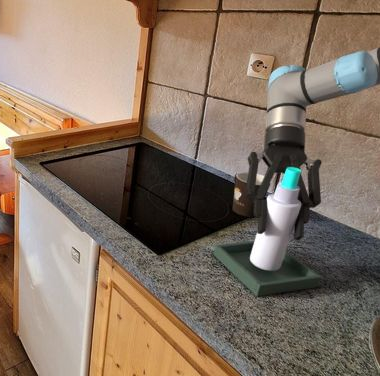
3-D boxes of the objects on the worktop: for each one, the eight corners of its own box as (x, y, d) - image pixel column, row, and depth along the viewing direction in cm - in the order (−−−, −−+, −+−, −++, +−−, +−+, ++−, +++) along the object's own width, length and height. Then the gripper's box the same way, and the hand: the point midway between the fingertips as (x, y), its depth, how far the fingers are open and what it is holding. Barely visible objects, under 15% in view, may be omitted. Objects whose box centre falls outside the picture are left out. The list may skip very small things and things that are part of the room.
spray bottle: (248, 266, 86) (276, 171, 77) (249, 252, 91) (276, 161, 82) (280, 275, 84) (313, 178, 74) (279, 260, 89) (310, 167, 79)
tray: (317, 287, 83) (321, 276, 82) (256, 296, 80) (260, 285, 79) (267, 248, 96) (270, 238, 95) (213, 254, 93) (215, 245, 92)
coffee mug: (264, 221, 108) (273, 187, 104) (229, 215, 110) (237, 181, 106) (258, 202, 118) (267, 170, 114) (226, 197, 120) (234, 166, 116)
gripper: (326, 145, 88) (325, 248, 81) (233, 135, 93) (224, 231, 86) (343, 129, 82) (343, 239, 74) (241, 119, 86) (232, 221, 79)
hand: (279, 234), depth 80 cm, fingers closed on spray bottle, 6 cm apart
